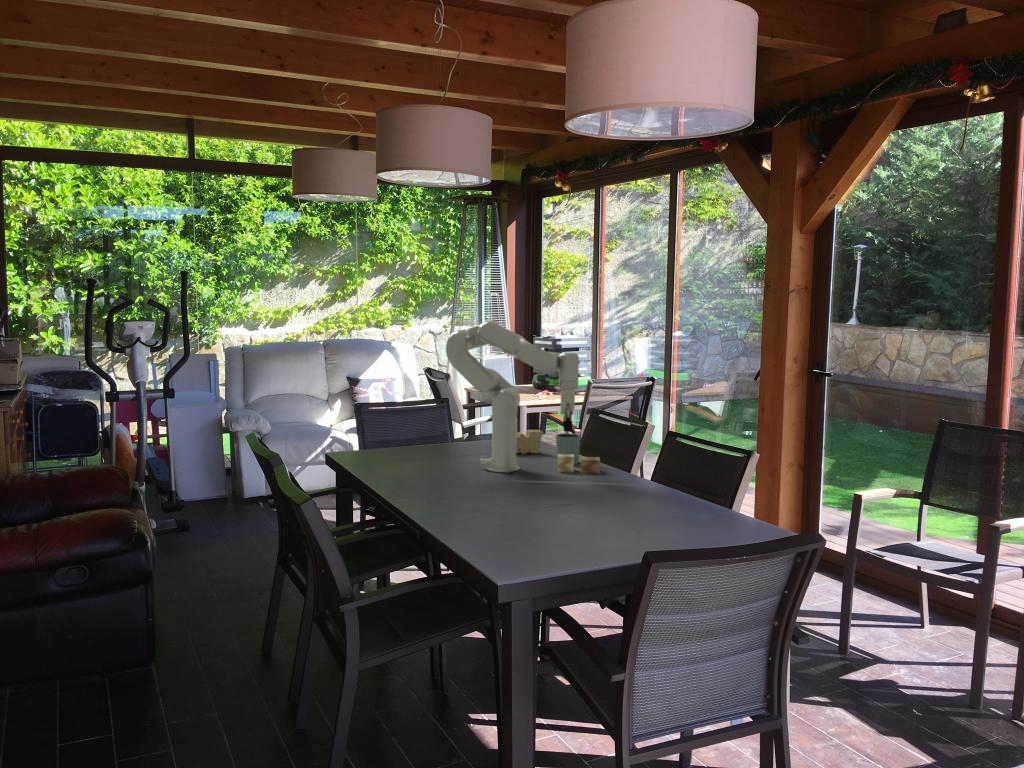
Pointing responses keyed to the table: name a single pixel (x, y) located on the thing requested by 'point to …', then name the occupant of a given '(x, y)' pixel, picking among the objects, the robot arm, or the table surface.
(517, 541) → the table surface
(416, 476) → the table surface
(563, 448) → the green cup
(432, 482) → the table surface
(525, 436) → the toy train
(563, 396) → the robot arm
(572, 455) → the birch cube
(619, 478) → the table surface
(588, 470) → the walnut base block
